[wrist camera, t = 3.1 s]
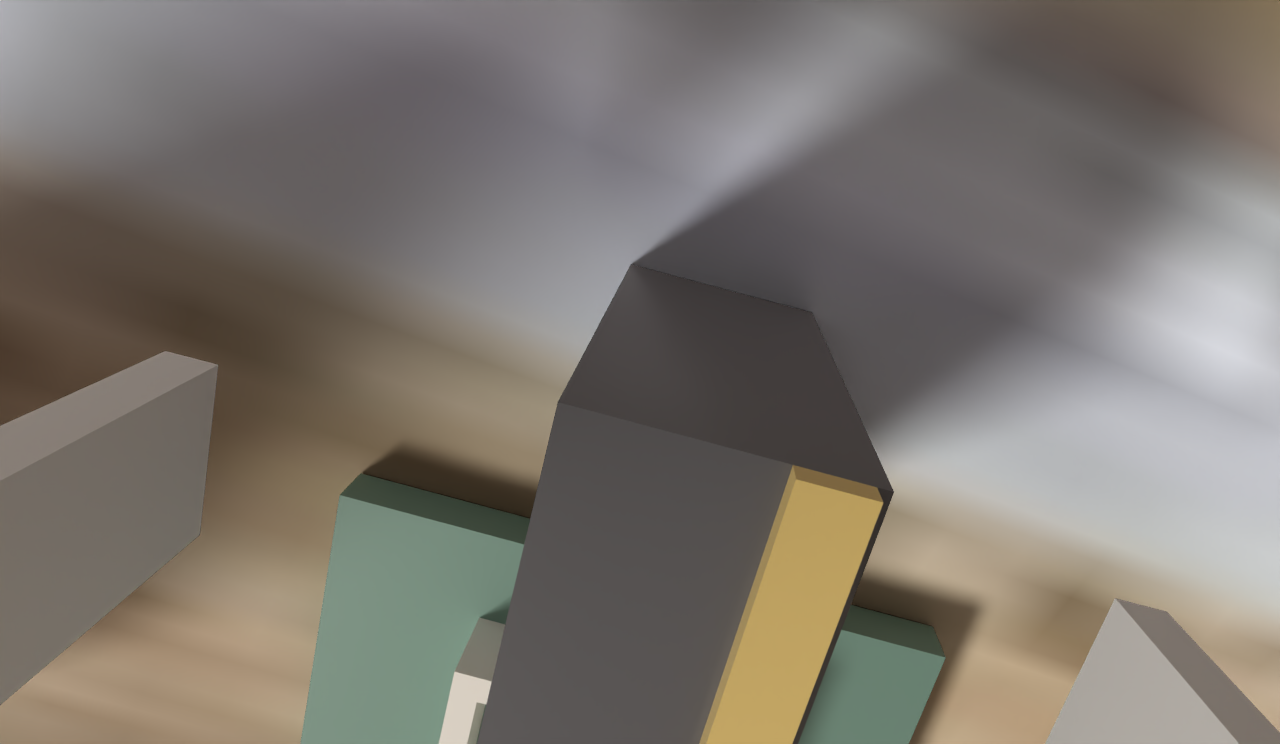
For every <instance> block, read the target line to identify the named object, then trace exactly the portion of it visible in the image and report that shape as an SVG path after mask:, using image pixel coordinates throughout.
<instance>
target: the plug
mask: <svg viewBox="0 0 1280 744" xmlns="http://www.w3.org/2000/svg"><path fill="white" fill-rule="evenodd" d="M893 493H894V491H893V489H892V487H891V484H890V482H889V480H888V478H887V476H886V473H885V471H884V469H883V467H882V465H881V463H880V460H879V458H878V456H877V454H876V452H875V449H874V447H873V445H872V443H871V441H870V439H869V436H868V434H867V432H866V430H865V428H864V425H863V423H862V421H861V419H860V417H859V414H858V412H857V410H856V408H855V406H854V404H853V401H852V399H851V397H850V395H849V393H848V390H847V388H846V386H845V384H844V382H843V379H842V377H841V375H840V373H839V371H838V369H837V366H836V364H835V362H834V360H833V358H832V355H831V353H830V351H829V349H828V347H827V344H826V342H825V340H824V338H823V336H822V334H821V331H820V329H819V327H818V325H817V323H816V320H815V318H814V316H813V314H812V312H808V311H804V310H801V309H797V308H793V307H789V306H786V305H782V304H778V303H774V302H771V301H767V300H763V299H759V298H756V297H752V296H748V295H744V294H741V293H737V292H733V291H729V290H726V289H722V288H718V287H714V286H711V285H707V284H703V283H699V282H696V281H692V280H688V279H684V278H681V277H677V276H673V275H669V274H666V273H662V272H658V271H654V270H651V269H647V268H643V267H639V266H636V265H632V264H631V266H630V267H629V269H628V271H627V273H626V275H625V277H624V279H623V281H622V282H621V284H620V286H619V288H618V290H617V292H616V294H615V296H614V298H613V299H612V301H611V303H610V305H609V307H608V309H607V311H606V313H605V314H604V316H603V318H602V320H601V322H600V324H599V326H598V328H597V329H596V331H595V333H594V335H593V337H592V339H591V341H590V343H589V345H588V346H587V348H586V350H585V352H584V354H583V356H582V358H581V360H580V361H579V363H578V365H577V367H576V369H575V371H574V373H573V375H572V377H571V378H570V380H569V382H568V384H567V386H566V388H565V390H564V392H563V393H562V395H561V397H560V399H559V401H558V404H557V408H556V412H555V417H554V421H553V425H552V429H551V433H550V438H549V442H548V446H547V450H546V455H545V459H544V463H543V467H542V471H541V476H540V480H539V484H538V488H537V493H536V497H535V501H534V505H533V509H532V514H531V518H530V522H529V526H528V531H527V535H526V539H525V543H524V547H523V552H522V556H521V560H520V564H519V569H518V573H517V577H516V581H515V585H514V590H513V594H512V598H511V602H510V607H509V611H508V615H507V619H506V624H505V628H504V632H503V636H502V640H501V645H500V649H499V653H498V657H497V662H496V666H495V670H494V674H493V678H492V683H491V687H490V691H489V695H488V700H487V704H486V708H485V712H484V716H483V721H482V725H481V729H480V733H479V738H478V742H477V744H798V743H799V740H800V737H801V735H802V732H803V730H804V727H805V724H806V722H807V719H808V716H809V714H810V711H811V709H812V706H813V703H814V701H815V698H816V695H817V693H818V690H819V688H820V685H821V682H822V680H823V677H824V674H825V672H826V669H827V666H828V664H829V661H830V659H831V656H832V653H833V651H834V648H835V645H836V643H837V640H838V638H839V635H840V632H841V630H842V627H843V624H844V622H845V619H846V617H847V614H848V611H849V609H850V606H851V603H852V601H853V598H854V596H855V593H856V590H857V588H858V585H859V582H860V580H861V577H862V575H863V572H864V569H865V567H866V564H867V561H868V559H869V556H870V553H871V551H872V548H873V546H874V543H875V540H876V538H877V535H878V532H879V530H880V527H881V525H882V522H883V519H884V517H885V514H886V511H887V509H888V506H889V504H890V501H891V498H892V496H893Z"/></svg>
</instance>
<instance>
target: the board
mask: <svg viewBox="0 0 1280 744" xmlns="http://www.w3.org/2000/svg"><path fill="white" fill-rule="evenodd" d="M529 522H530V519H529V518H526V517H522V516H518V515H514V514H511V513H507V512H503V511H499V510H496V509H492V508H488V507H485V506H481V505H477V504H473V503H470V502H466V501H462V500H458V499H455V498H451V497H447V496H444V495H440V494H436V493H432V492H429V491H425V490H421V489H417V488H414V487H410V486H406V485H403V484H399V483H395V482H391V481H388V480H384V479H380V478H376V477H373V476H369V475H365V474H362V473H361V474H360V475H359V476H358V477H357V478H356V479H355V480H354V481H353V482H352V483H351V484H350V485H349V486H348V487H347V488H346V489H345V490H344V491H343V492H342V493H341V494H340V497H339V503H338V510H337V516H336V522H335V529H334V535H333V541H332V548H331V554H330V560H329V567H328V573H327V579H326V586H325V592H324V598H323V605H322V611H321V617H320V624H319V630H318V636H317V643H316V649H315V655H314V662H313V668H312V674H311V681H310V687H309V693H308V700H307V706H306V712H305V719H304V725H303V731H302V737H301V744H477V742H478V738H479V733H480V729H481V725H482V721H483V716H484V712H485V708H486V704H487V700H488V695H489V691H490V687H491V683H492V678H493V674H494V670H495V666H496V662H497V657H498V653H499V649H500V645H501V640H502V636H503V632H504V628H505V624H506V619H507V615H508V611H509V607H510V602H511V598H512V594H513V590H514V585H515V581H516V577H517V573H518V569H519V564H520V560H521V556H522V552H523V547H524V543H525V539H526V535H527V531H528V526H529ZM945 658H946V657H945V655H944V652H943V650H942V647H941V645H940V643H939V640H938V638H937V635H936V633H935V631H934V628H933V627H932V626H928V625H924V624H921V623H917V622H913V621H910V620H906V619H902V618H898V617H895V616H891V615H887V614H883V613H880V612H876V611H872V610H869V609H865V608H861V607H857V606H854V605H851V606H850V609H849V611H848V614H847V617H846V619H845V622H844V624H843V627H842V630H841V632H840V635H839V638H838V640H837V643H836V645H835V648H834V651H833V653H832V656H831V659H830V661H829V664H828V666H827V669H826V672H825V674H824V677H823V680H822V682H821V685H820V688H819V690H818V693H817V695H816V698H815V701H814V703H813V706H812V709H811V711H810V714H809V716H808V719H807V722H806V724H805V727H804V730H803V732H802V735H801V737H800V740H799V743H798V744H909V742H910V740H911V737H912V735H913V733H914V730H915V728H916V726H917V723H918V721H919V719H920V716H921V714H922V712H923V710H924V707H925V705H926V703H927V700H928V698H929V696H930V693H931V691H932V689H933V686H934V684H935V682H936V679H937V677H938V675H939V672H940V670H941V668H942V665H943V663H944V661H945Z"/></svg>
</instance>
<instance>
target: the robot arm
mask: <svg viewBox="0 0 1280 744" xmlns="http://www.w3.org/2000/svg"><path fill="white" fill-rule="evenodd" d="M217 373H218V365H217V364H214V363H210V362H206V361H202V360H198V359H194V358H191V357H187V356H183V355H179V354H175V353H171V352H168V351H164V352H162V353H160V354H158V355H155V356H153V357H151V358H149V359H146V360H144V361H142V362H140V363H138V364H135V365H133V366H131V367H129V368H127V369H124V370H122V371H120V372H118V373H116V374H113V375H111V376H109V377H107V378H105V379H102V380H100V381H98V382H96V383H94V384H91V385H89V386H87V387H85V388H83V389H80V390H78V391H76V392H74V393H71V394H69V395H67V396H65V397H63V398H60V399H58V400H56V401H54V402H52V403H49V404H47V405H45V406H43V407H41V408H38V409H36V410H34V411H32V412H30V413H27V414H25V415H23V416H21V417H19V418H16V419H14V420H12V421H10V422H8V423H5V424H3V425H1V426H0V705H1V704H2V703H3V702H4V701H6V700H7V699H8V698H9V697H10V696H11V695H13V694H14V693H15V692H16V691H17V690H19V689H20V688H21V687H22V686H23V685H24V684H26V683H27V682H28V681H29V680H30V679H31V678H33V677H34V676H35V675H36V674H37V673H38V672H40V671H41V670H42V669H43V668H44V667H45V666H47V665H48V664H49V663H50V662H51V661H53V660H54V659H55V658H56V657H57V656H58V655H60V654H61V653H62V652H63V651H64V650H65V649H67V648H68V647H69V646H70V645H71V644H72V643H74V642H75V641H76V640H77V639H78V638H79V637H81V636H82V635H83V634H84V633H85V632H86V631H88V630H89V629H90V628H91V627H92V626H94V625H95V624H96V623H97V622H98V621H99V620H101V619H102V618H103V617H104V616H105V615H106V614H108V613H109V612H110V611H111V610H112V609H113V608H115V607H116V606H117V605H118V604H119V603H120V602H122V601H123V600H124V599H125V598H126V597H127V596H129V595H130V594H131V593H132V592H133V591H135V590H136V589H137V588H138V587H139V586H140V585H142V584H143V583H144V582H145V581H146V580H147V579H149V578H150V577H151V576H152V575H153V574H154V573H156V572H157V571H158V570H159V569H160V568H161V567H163V566H164V565H165V564H166V563H167V562H169V561H170V560H171V559H172V558H173V557H174V556H176V555H177V554H178V553H179V552H180V551H181V550H183V549H184V548H185V547H186V546H187V545H188V544H190V543H191V542H192V541H193V540H194V539H195V538H197V537H198V536H199V535H200V529H201V519H202V510H203V501H204V492H205V483H206V474H207V464H208V455H209V446H210V437H211V428H212V419H213V409H214V400H215V391H216V382H217ZM1045 744H1280V732H1279V731H1278V730H1277V729H1276V728H1275V727H1274V726H1273V725H1272V724H1271V723H1270V722H1269V721H1268V720H1267V719H1266V717H1265V716H1264V715H1263V714H1262V713H1261V712H1260V711H1259V710H1258V709H1257V708H1256V707H1255V706H1254V705H1253V704H1252V702H1251V701H1250V700H1249V699H1248V698H1247V697H1246V696H1245V695H1244V694H1243V693H1242V692H1241V691H1240V690H1239V689H1238V687H1237V686H1236V685H1235V684H1234V683H1233V682H1232V681H1231V680H1230V679H1229V678H1228V677H1227V676H1226V675H1225V673H1224V672H1223V671H1222V670H1221V669H1220V668H1219V667H1218V666H1217V665H1216V664H1215V663H1214V662H1213V661H1212V660H1211V658H1210V657H1209V656H1208V655H1207V654H1206V653H1205V652H1204V651H1203V650H1202V649H1201V648H1200V647H1199V646H1198V645H1197V643H1196V642H1195V641H1194V640H1193V639H1192V638H1191V637H1190V636H1189V635H1188V634H1187V633H1186V632H1185V631H1184V629H1183V628H1182V627H1181V626H1180V625H1179V624H1178V623H1177V622H1176V621H1175V620H1174V619H1173V618H1172V617H1171V616H1170V614H1169V613H1168V612H1166V611H1162V610H1159V609H1155V608H1151V607H1147V606H1143V605H1139V604H1136V603H1132V602H1128V601H1124V600H1120V599H1116V598H1115V600H1114V602H1113V604H1112V606H1111V608H1110V610H1109V612H1108V614H1107V616H1106V618H1105V620H1104V623H1103V625H1102V627H1101V629H1100V631H1099V633H1098V635H1097V637H1096V639H1095V641H1094V643H1093V645H1092V647H1091V649H1090V652H1089V654H1088V656H1087V658H1086V660H1085V662H1084V664H1083V666H1082V668H1081V670H1080V672H1079V674H1078V676H1077V679H1076V681H1075V683H1074V685H1073V687H1072V689H1071V691H1070V693H1069V695H1068V697H1067V699H1066V701H1065V703H1064V706H1063V708H1062V710H1061V712H1060V714H1059V716H1058V718H1057V720H1056V722H1055V724H1054V726H1053V728H1052V730H1051V732H1050V735H1049V737H1048V739H1047V741H1046V743H1045Z"/></svg>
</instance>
